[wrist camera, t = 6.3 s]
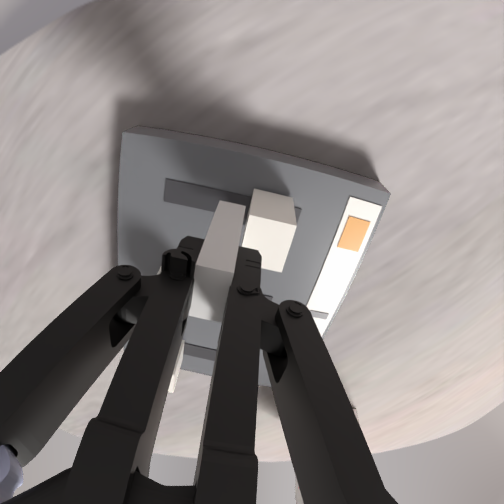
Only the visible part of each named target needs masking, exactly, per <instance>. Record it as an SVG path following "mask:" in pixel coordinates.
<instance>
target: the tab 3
mask: <svg viewBox="0 0 504 504" xmlns="http://www.w3.org/2000/svg"><path fill="white" fill-rule="evenodd" d="M296 227H297V223H296V216H295V209H294V202H293V198H292V197H288V196H284V195H280V194H275V193H271V192H267V191H263V190H259V189H254V190H253V195H252V199H251V203H250V207H249V211H248V215H247V220H246V224H245V228H244V233H243V238H242V243H241V247H246V248H251V249H255V250H258V251H259V253H260V254H261V256H262V263H261V268H263V269H268V270H272V271H277V272H281V273H282V270H283V267H284V264H285V261H286V258H287V255H288V252H289V249H290V246H291V242H292V239H293V236H294V233H295V230H296Z"/></svg>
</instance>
